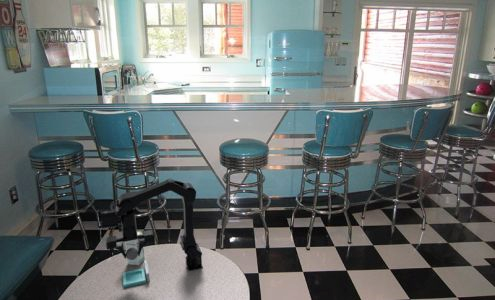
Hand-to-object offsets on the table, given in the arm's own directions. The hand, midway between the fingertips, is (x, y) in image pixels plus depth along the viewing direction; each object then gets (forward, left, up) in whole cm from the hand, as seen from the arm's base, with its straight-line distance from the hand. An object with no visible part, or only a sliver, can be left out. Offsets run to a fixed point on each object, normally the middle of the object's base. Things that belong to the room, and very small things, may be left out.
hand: (132, 257), depth 147 cm
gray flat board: (-5, -1, -11) cm, 12 cm away
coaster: (0, 0, -11) cm, 11 cm away
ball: (0, 0, -1) cm, 1 cm away
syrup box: (-1, -13, -11) cm, 17 cm away
